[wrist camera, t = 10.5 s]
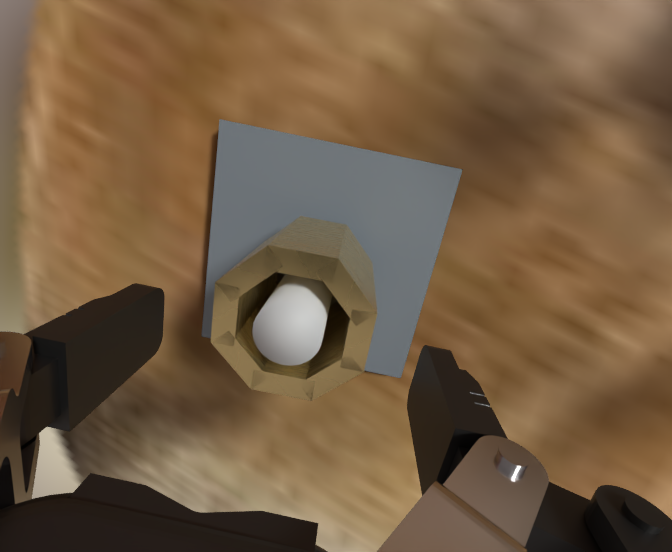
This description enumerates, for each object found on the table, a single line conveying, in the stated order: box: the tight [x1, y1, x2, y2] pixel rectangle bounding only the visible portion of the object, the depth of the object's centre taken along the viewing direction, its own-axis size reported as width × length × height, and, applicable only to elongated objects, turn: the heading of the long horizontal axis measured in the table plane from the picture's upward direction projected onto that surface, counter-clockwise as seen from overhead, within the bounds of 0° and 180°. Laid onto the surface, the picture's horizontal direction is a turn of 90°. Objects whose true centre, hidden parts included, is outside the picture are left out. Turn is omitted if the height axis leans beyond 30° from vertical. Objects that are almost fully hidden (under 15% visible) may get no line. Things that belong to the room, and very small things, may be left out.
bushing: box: [211, 216, 377, 401], centre depth 14 cm, size 5×5×6 cm
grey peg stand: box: [202, 119, 463, 378], centre depth 16 cm, size 12×12×10 cm
